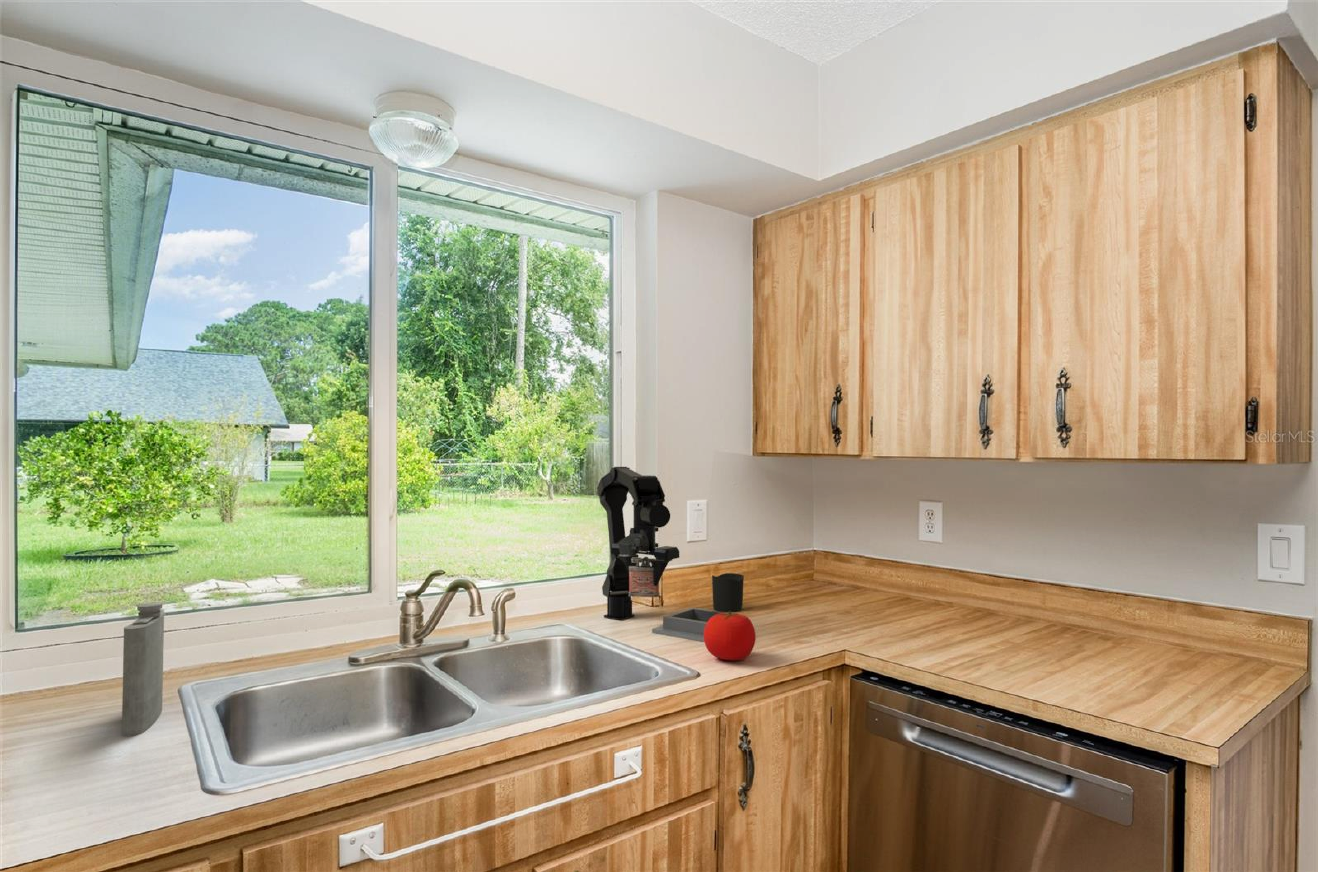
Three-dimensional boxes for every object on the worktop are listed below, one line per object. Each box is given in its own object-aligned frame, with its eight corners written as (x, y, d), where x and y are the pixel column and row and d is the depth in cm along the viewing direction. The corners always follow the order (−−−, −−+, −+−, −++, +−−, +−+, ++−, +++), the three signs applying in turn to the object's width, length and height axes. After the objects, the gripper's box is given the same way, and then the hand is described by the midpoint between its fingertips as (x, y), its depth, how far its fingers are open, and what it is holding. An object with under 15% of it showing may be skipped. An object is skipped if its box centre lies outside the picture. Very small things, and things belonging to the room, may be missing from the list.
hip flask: (143, 706, 131) (145, 596, 131) (169, 702, 132) (171, 594, 133) (119, 737, 116) (121, 614, 117) (149, 733, 118) (151, 611, 119)
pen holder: (745, 612, 209) (745, 578, 209) (713, 612, 209) (713, 578, 209) (741, 605, 218) (741, 573, 218) (711, 605, 218) (711, 572, 218)
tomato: (761, 654, 165) (761, 609, 165) (745, 669, 154) (745, 620, 154) (715, 649, 170) (715, 604, 170) (696, 662, 159) (696, 614, 159)
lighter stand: (652, 632, 185) (652, 617, 185) (689, 619, 200) (689, 605, 200) (712, 643, 175) (712, 626, 175) (746, 628, 190) (746, 613, 190)
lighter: (660, 594, 187) (660, 556, 187) (658, 597, 183) (658, 558, 184) (629, 594, 188) (629, 555, 188) (627, 596, 184) (627, 557, 185)
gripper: (596, 524, 185) (596, 584, 185) (654, 528, 174) (654, 593, 174) (624, 520, 194) (623, 578, 194) (680, 525, 183) (680, 586, 183)
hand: (644, 584), depth 186 cm, fingers closed on lighter, 7 cm apart
